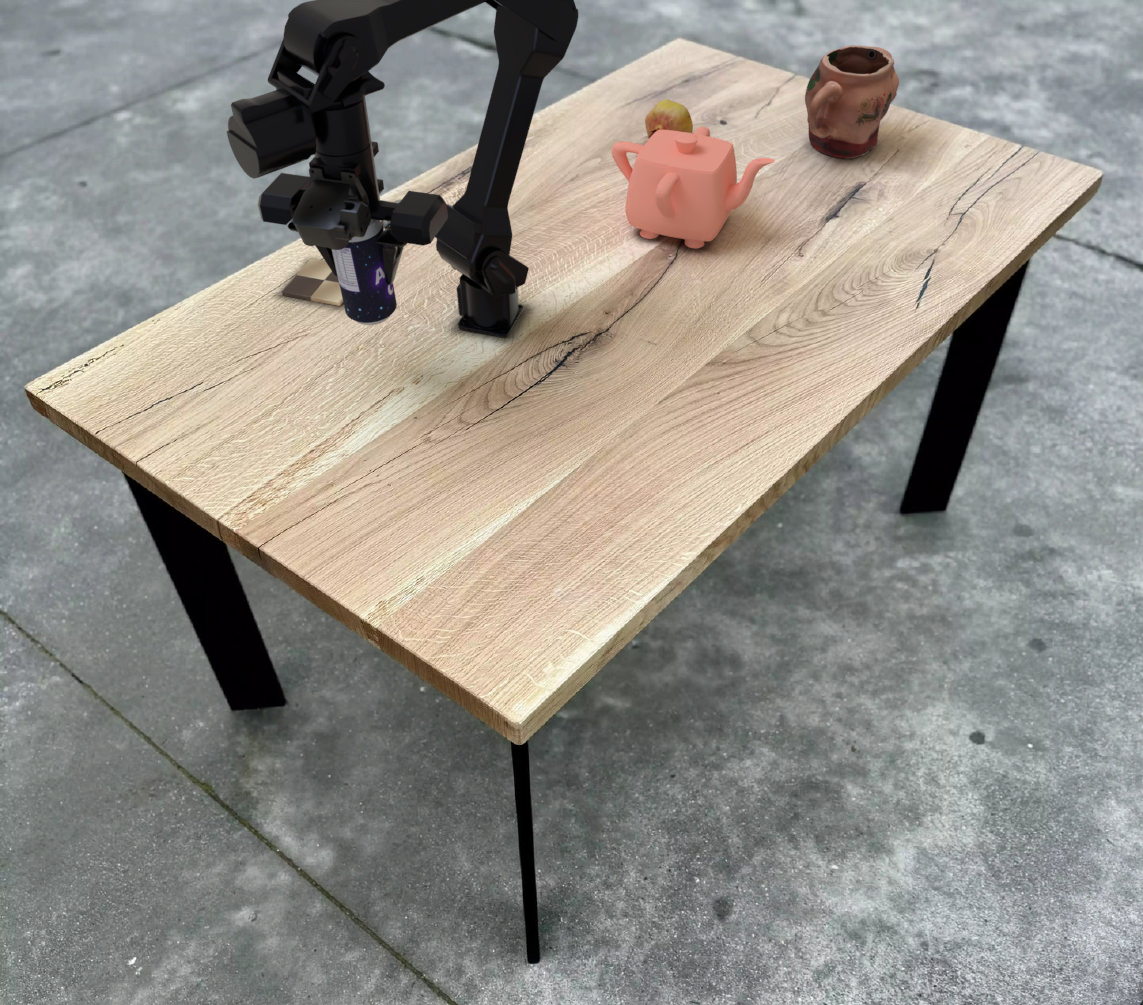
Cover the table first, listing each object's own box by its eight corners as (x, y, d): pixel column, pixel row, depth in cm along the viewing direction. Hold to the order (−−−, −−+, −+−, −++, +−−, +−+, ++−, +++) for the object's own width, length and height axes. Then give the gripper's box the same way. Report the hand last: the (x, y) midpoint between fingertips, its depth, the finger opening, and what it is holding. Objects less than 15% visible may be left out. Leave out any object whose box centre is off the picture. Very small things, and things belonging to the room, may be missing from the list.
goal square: (367, 272, 142) (366, 268, 141) (339, 306, 136) (339, 302, 136) (311, 262, 143) (310, 258, 143) (282, 295, 138) (281, 291, 138)
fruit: (659, 89, 167) (630, 113, 161) (700, 87, 164) (672, 112, 158) (666, 133, 171) (637, 159, 165) (706, 132, 168) (679, 158, 162)
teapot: (603, 212, 152) (605, 123, 143) (701, 188, 157) (709, 100, 148) (661, 273, 142) (667, 180, 132) (764, 245, 147) (777, 153, 137)
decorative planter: (844, 188, 157) (862, 94, 148) (769, 163, 162) (782, 71, 153) (903, 136, 169) (923, 46, 159) (831, 115, 174) (847, 26, 164)
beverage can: (389, 331, 119) (371, 234, 110) (339, 327, 120) (318, 231, 111) (404, 301, 123) (387, 205, 114) (355, 297, 123) (335, 202, 115)
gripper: (215, 170, 103) (251, 307, 114) (400, 196, 99) (418, 335, 110) (269, 117, 111) (298, 251, 122) (442, 140, 107) (455, 276, 118)
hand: (364, 278), depth 118 cm, fingers closed on beverage can, 6 cm apart
